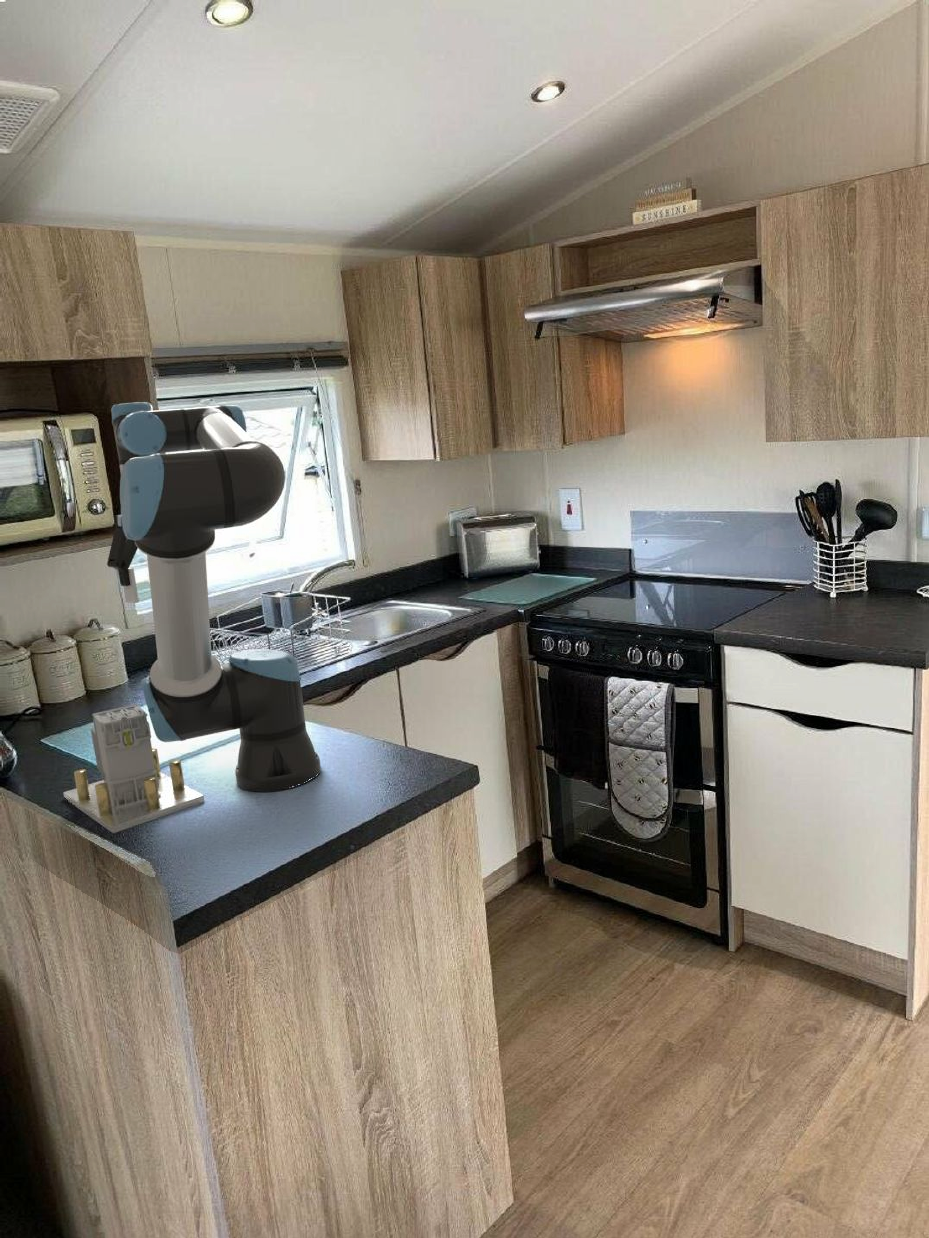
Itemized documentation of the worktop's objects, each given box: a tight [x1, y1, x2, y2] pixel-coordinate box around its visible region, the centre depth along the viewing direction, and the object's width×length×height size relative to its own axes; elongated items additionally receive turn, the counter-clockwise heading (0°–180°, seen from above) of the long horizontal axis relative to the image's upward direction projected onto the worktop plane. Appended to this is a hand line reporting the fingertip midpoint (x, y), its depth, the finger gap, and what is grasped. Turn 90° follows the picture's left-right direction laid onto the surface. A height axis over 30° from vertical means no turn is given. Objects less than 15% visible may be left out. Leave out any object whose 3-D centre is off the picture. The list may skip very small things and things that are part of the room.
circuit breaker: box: [90, 703, 161, 809], centre depth 169 cm, size 8×14×15 cm, turn 32°
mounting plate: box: [62, 748, 205, 834], centre depth 169 cm, size 23×16×6 cm
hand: (160, 595), depth 188 cm, fingers open, 13 cm apart
